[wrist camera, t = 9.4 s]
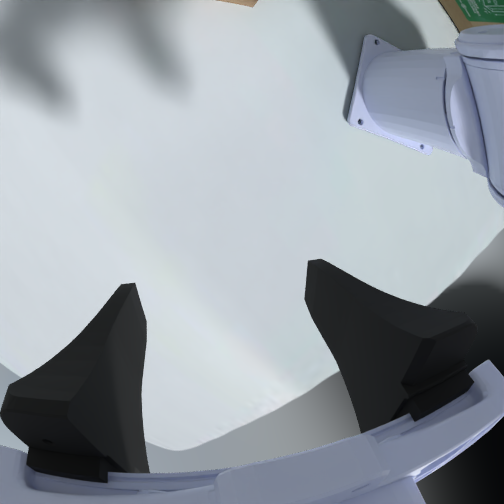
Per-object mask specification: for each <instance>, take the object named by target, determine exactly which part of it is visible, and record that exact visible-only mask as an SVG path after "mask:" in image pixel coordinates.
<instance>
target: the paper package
mask: <svg viewBox="0 0 504 504" xmlns="http://www.w3.org/2000/svg"><path fill="white" fill-rule="evenodd" d="M439 1H440V2H441V4H442V5H443V7H444V8H445V10H446V11H447V13H448V14H449V16H450V17H451V19H452V20H453V22H454V23H455V25H456V27H457V28H458V30H459V31H460V32H461V31H462V30H465V29H468V28H472V27H477V26H485V25H497V24H504V0H439Z"/></svg>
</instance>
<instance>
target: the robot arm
mask: <svg viewBox="0 0 504 504" xmlns="http://www.w3.org/2000/svg"><path fill="white" fill-rule="evenodd" d="M374 40H375V41H376V42H377V45H376V44H375V43H374ZM455 46H456V48H436V49H418V50H406V51H402V50H401V49H399V48H397V47H395V46H393V45H391V44H390V43H388V42H386V41H384V40H382V39H380V38H378V37H376V36H374V35H372V34H368V35H365V37H364V41H363V46H362V52H361V57H360V62H359V67H358V72H357V77H356V82H355V87H354V91H353V96H352V101H351V105H350V109H349V114H348V119H347V121H348V123H349V125H351V126H354V127H357V128H360V129H363V130H365V131H368V132H371V133H374V134H377V135H379V136H382V137H385V138H387V139H390V140H393V141H395V142H398V143H400V144H403V145H405V146H407V147H410V148H412V149H415V150H417V151H419V152H422V153H424V154H426V155H430V154H431V153H432V150H433V147H435V148H438V149H441V150H444V151H447V152H450V153H452V154H455V155H458V156H461V157H463V158H466V159H468V160H469V161H470V162H471V165H472V168H473V172H475V173H478V174H480V175H482V176H484V177H487V180H488V187H489V190H490V193H491V195H492V196H493V198H494V199H495V200H496V201H497V202H498V203H499V204H500V205H501V206H502V207H504V24H497V25H485V26H477V27H472V28H468V29H465V30H462V31H461V32H460V34H459V36H458V38H457V39H456V40H455ZM359 119H360V120H361V123H360V124H358V120H359ZM420 145H421V148H420ZM305 302H306V305H307V307H308V310H309V312H310V315H311V317H312V319H313V321H314V323H315V325H316V326H317V328H318V330H319V332H320V333H321V335H322V337H323V339H324V340H325V342H326V344H327V346H328V347H329V349H330V351H331V353H332V354H333V356H334V358H335V360H336V362H337V364H338V367H339V369H340V371H341V374H342V376H343V379H344V381H345V384H346V386H347V389H348V392H349V395H350V398H351V401H352V404H353V407H354V410H355V413H356V416H357V420H358V423H359V427H360V431H361V434H360V435H357V436H353V437H349V438H345V439H342V440H339V441H336V442H333V443H330V444H327V445H323V446H320V447H317V448H313V449H310V450H306V451H303V452H299V453H295V454H291V455H287V456H283V457H278V458H274V459H269V460H264V461H259V462H254V463H250V464H245V465H241V466H237V467H230V468H224V469H215V470H205V471H194V472H179V473H150V472H149V466H148V461H147V455H146V447H145V439H144V430H143V418H142V398H141V393H142V378H143V369H144V360H145V351H146V342H147V321H146V318H145V315H144V311H143V308H142V305H141V302H140V298H139V295H138V291H137V288H136V284H135V283H129V284H121V285H120V286H119V288H118V289H117V290H116V291H115V292H114V294H113V295H112V296H111V298H110V299H109V300H108V301H107V303H106V304H105V305H104V306H103V308H102V309H101V310H100V311H99V313H98V314H97V315H96V316H95V317H94V318H93V319H92V321H91V322H90V323H89V324H88V325H87V326H86V327H85V329H84V330H83V331H82V332H81V333H80V334H79V335H78V336H77V337H76V338H75V339H74V340H73V341H72V342H71V343H70V344H68V345H67V346H66V347H65V348H64V349H63V350H61V351H60V352H59V353H58V354H57V355H55V356H54V357H53V358H52V359H50V360H49V361H48V362H46V363H45V364H44V365H42V366H41V367H39V368H38V369H36V370H35V371H33V372H32V373H30V374H28V375H27V376H25V377H23V378H21V379H19V380H17V381H16V382H14V383H12V384H10V385H9V386H8V389H7V392H6V395H5V398H4V402H3V404H2V408H1V411H0V417H1V419H2V421H3V423H4V424H5V425H6V427H7V428H8V429H9V430H10V431H11V432H13V433H14V434H15V435H16V436H17V437H18V438H19V439H20V440H21V441H23V442H24V443H25V444H26V445H27V446H28V447H29V450H28V454H27V453H25V452H23V451H20V450H17V449H13V448H9V447H6V446H2V445H0V504H426V503H425V501H424V499H423V497H422V495H421V493H420V491H419V489H418V487H417V485H416V484H415V483H416V482H417V481H419V480H421V479H422V478H424V477H426V476H427V475H429V474H430V473H432V472H434V471H435V470H437V469H438V468H440V467H441V466H443V465H444V464H446V463H447V462H448V461H450V460H451V459H453V458H454V457H455V456H457V455H458V454H460V453H461V452H462V451H464V450H465V449H466V448H468V447H469V446H470V445H472V444H473V443H474V442H475V441H477V440H478V439H479V438H480V437H482V436H483V435H484V434H485V433H486V432H488V431H489V430H490V429H491V428H492V427H493V426H494V425H495V424H496V423H497V422H498V421H499V420H500V419H501V418H502V417H503V416H504V377H503V376H502V375H501V373H500V372H499V371H498V370H497V368H496V367H495V366H494V365H493V364H492V363H491V361H490V360H487V361H485V362H484V363H482V364H481V365H479V366H478V367H476V368H475V369H474V370H472V371H471V372H470V373H469V374H468V373H467V372H466V371H465V369H466V367H467V364H466V362H465V361H464V360H463V359H464V357H465V356H466V354H467V352H468V351H469V349H470V347H471V345H472V344H473V342H474V340H475V338H476V334H477V325H476V324H475V323H474V322H473V321H472V320H471V319H470V318H469V316H467V314H465V313H462V312H455V311H447V310H441V309H436V308H431V307H427V306H423V305H419V304H416V303H412V302H409V301H406V300H403V299H400V298H397V297H395V296H392V295H390V294H387V293H385V292H383V291H380V290H378V289H376V288H374V287H372V286H370V285H368V284H366V283H364V282H362V281H361V280H359V279H357V278H355V277H353V276H351V275H350V274H348V273H346V272H344V271H343V270H341V269H339V268H337V267H336V266H334V265H332V264H330V263H329V262H327V261H325V260H322V259H317V260H310V261H308V266H307V278H306V288H305Z"/></svg>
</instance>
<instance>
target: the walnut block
mask: <svg viewBox="0 0 504 504" xmlns="http://www.w3.org/2000/svg"><path fill="white" fill-rule="evenodd" d="M218 1H224V2H229V3H235V4H240V5H245V6H249V7H253V6H254V5H255V4H256V2H257V1H258V0H218Z"/></svg>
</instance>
